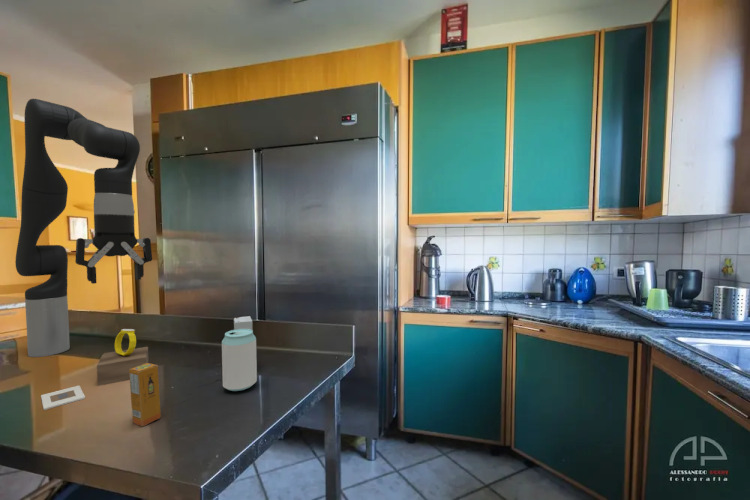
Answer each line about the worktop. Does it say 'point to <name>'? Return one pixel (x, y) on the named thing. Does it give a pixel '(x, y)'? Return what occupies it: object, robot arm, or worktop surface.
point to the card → (62, 397)
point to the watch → (131, 344)
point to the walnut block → (119, 365)
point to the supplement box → (145, 394)
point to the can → (239, 359)
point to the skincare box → (243, 323)
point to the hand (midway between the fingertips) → (116, 281)
